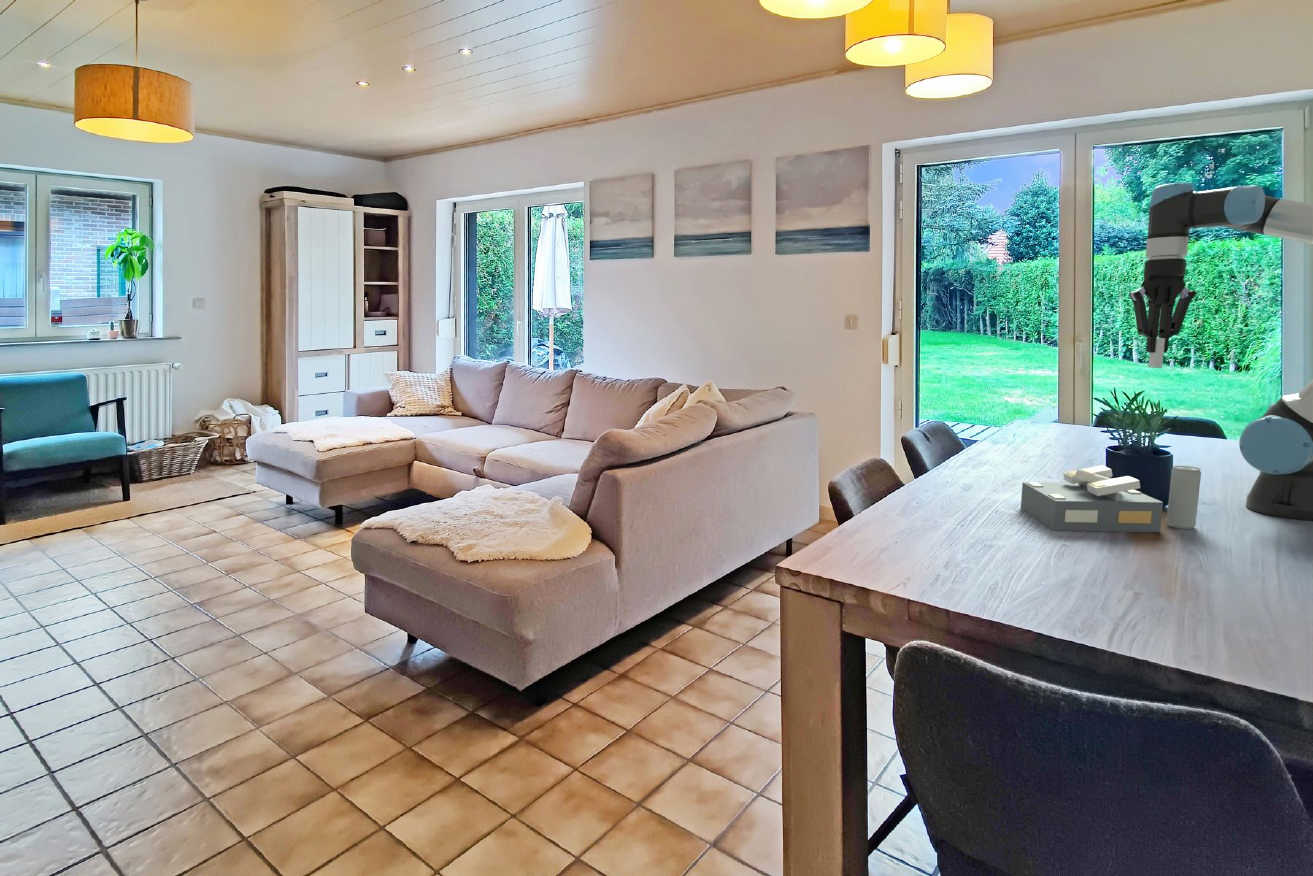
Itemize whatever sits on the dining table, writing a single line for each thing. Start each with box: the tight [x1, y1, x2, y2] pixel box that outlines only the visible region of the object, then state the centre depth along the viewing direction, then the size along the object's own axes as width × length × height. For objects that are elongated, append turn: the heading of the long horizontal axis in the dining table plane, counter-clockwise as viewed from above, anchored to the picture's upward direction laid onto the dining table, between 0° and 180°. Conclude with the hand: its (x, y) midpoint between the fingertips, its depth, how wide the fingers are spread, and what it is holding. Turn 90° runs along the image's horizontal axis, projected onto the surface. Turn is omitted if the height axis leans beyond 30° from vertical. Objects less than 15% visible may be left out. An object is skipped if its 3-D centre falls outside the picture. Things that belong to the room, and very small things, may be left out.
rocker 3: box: [1087, 475, 1141, 496], centre depth 150 cm, size 8×4×2 cm, turn 83°
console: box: [1020, 481, 1164, 533], centre depth 156 cm, size 20×17×7 cm
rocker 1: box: [1063, 465, 1113, 484], centre depth 161 cm, size 8×4×2 cm, turn 83°
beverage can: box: [1166, 465, 1202, 530], centre depth 150 cm, size 5×5×12 cm
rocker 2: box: [1075, 468, 1114, 483], centre depth 155 cm, size 8×4×2 cm, turn 86°
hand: (1155, 367), depth 167 cm, fingers closed
